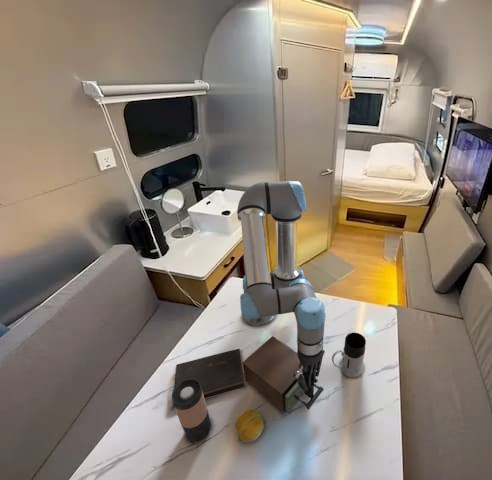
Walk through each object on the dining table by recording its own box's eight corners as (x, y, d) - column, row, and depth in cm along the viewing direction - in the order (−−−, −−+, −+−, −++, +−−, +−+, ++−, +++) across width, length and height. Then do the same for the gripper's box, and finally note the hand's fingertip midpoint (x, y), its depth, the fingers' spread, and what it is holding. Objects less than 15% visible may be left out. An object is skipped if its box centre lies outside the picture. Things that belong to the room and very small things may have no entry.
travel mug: (211, 439, 84) (199, 400, 74) (184, 447, 82) (168, 408, 72) (212, 414, 90) (202, 375, 80) (187, 420, 88) (173, 382, 78)
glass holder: (367, 370, 106) (372, 344, 98) (337, 388, 99) (340, 361, 92) (353, 354, 112) (357, 327, 105) (324, 369, 106) (326, 342, 98)
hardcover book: (177, 368, 104) (176, 364, 103) (240, 351, 111) (239, 348, 110) (173, 409, 91) (172, 405, 90) (244, 387, 98) (244, 383, 97)
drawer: (327, 392, 97) (328, 377, 93) (303, 425, 87) (303, 410, 83) (277, 356, 109) (277, 342, 105) (251, 382, 99) (249, 367, 95)
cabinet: (310, 379, 102) (310, 361, 97) (282, 412, 91) (281, 394, 86) (273, 353, 111) (272, 335, 106) (245, 380, 100) (242, 362, 95)
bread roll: (245, 449, 82) (244, 442, 80) (232, 424, 87) (230, 417, 85) (269, 430, 86) (268, 423, 84) (255, 407, 92) (254, 400, 90)
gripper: (306, 368, 73) (305, 418, 84) (333, 338, 82) (329, 386, 94) (285, 354, 77) (287, 403, 88) (313, 326, 86) (311, 374, 97)
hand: (309, 394), depth 91 cm, fingers closed
